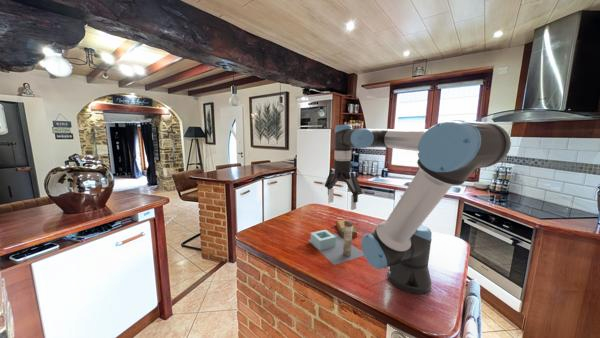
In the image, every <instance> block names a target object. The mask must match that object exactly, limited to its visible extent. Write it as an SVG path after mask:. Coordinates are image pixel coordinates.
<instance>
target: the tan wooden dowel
mask: <svg viewBox="0 0 600 338" xmlns="http://www.w3.org/2000/svg"><path fill="white" fill-rule="evenodd" d="M346 220H347V221H345V222H344V238H343V239H344V245H343V255H344V256H346V257H350V256H351V246H352V245H353V244H352V243H353V241H352V240H353V238H352V227H354V224H353V223H354V221H352V220H349V219H346ZM348 220H349V221H348Z"/></svg>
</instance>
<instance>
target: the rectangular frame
mask: <svg viewBox="0 0 600 338" xmlns="http://www.w3.org/2000/svg"><path fill="white" fill-rule="evenodd" d="M333 234H334V233H331V232H330V231H329V230H327V229H322V230H317V231H313V232H310V239H311V243H312V244H313V245H314V246H315V247H316V248H318V249H319V250H324V249H328V248H331V247H335V246H336V237H335V236H334V235H333ZM311 243H310V244H311ZM312 244H311V245H312ZM313 245H312V246H313ZM314 246H313V247H314ZM315 247H314V248H315ZM316 248H315V249H316ZM319 250H318V251H319Z"/></svg>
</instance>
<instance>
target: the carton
mask: <svg viewBox="0 0 600 338" xmlns="http://www.w3.org/2000/svg"><path fill="white" fill-rule="evenodd" d="M347 220H348V221H350V220H349V219H344V220H343V219H340V220H339V219H337V220H336V222H335V223H336V224H335V225H336V228H337V230H338V232H339V234H340V237H342V238H343V239H344V222H345V221H347ZM357 237H358V232H357V230H356V228H355V227H354V226H353V227H352V239H353V238H357Z"/></svg>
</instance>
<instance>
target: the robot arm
mask: <svg viewBox="0 0 600 338" xmlns="http://www.w3.org/2000/svg"><path fill="white" fill-rule="evenodd" d="M511 141H512V140H511V137H510V135H509V133H508V131H506V129H504V128H503V127H502V126H501V125H498V124H496V123H494V122H489V121H466V120H459V119H458V120H455V119H454V120H448V121H443V122H439V123H436V124H434V125H432V126H431V127H429V128H428V129H405V128H403V129H399V128H397V129H396V128H395V129H390V128H363V127H362V128H361V127H359V128H353V126H352V124H338V125H335V128H334V154H333V155H334V157H333V158H334V161H333V168H330V169H329V174H328V176H327V178H326V181H325V183H324V188H326V190H327V195H328V198H327V199H328V203H329V204H331V203H334V194H335V193H334V191H335V190H334V186H335V185H336V184H337V182H338V181H342V182H344V183H345V184H346V185H347V187H348V188H349V190H350V192H351V195H350V210H351V211H354V210H356V209H357V203H358V202H359V199H358V198H359V195H362V194H363V191H362V188H361V184H360V183H359V180H358V179H359V178H358V177H357V172H356V171H352V172H351V169H352V160H351V159H352V151H353V150H352V148H357V149H366V148H386V149H387V148H388V149H396V150H397V149H398V150H405V151H413V152H415V151H416V152H417V156H418V157H417V158H418V160H417V161H416V164H417V167H418V170H417V172H416V174H415V175H414V177H413V178H412V180H411V182H410V183H409V184H408V186H407V188H406V190H405V191H404V193H403V194H402V196H401V197H400V199H399V200H398V202H397V203H396V205H395V207H394V208H393V210H392V211H391V213H390V214H389V216H388V217H387V219H386V220H385V221H381V222H380V223H378V224H377V225H376V227H375V229H374V230H373V232H371V233H369V232H368V233H366V234H364V235H363V236H362V238H361V244H360V246H361V249H362V250H361V251H362V252H363V254H364V256H363V257H364V258H365V259H366V261H367V263H368V264H369V265H370V266H371V267H372V268H374V269H375V270H376V269H377V270H381V269H387V268H388V270H387V278H388V280H389V282H390V283H391V284H393V286H395V287H396V288H397V289H400V290H401V291H404V292H406V293H409V294H414V295H422V294H423V295H424V294H427V293H429V292H430V291H431V290H432V283H433V282H432V278H431V274H430V270H429V261H430V253H431V243H432V231H431V229H430V228H429V227H428V226H426V225H424V224H423V223H424V222H425V220H427V218H428V217H429V215H430V214H431V213H432V211H434V209H435V208H437V207H436V206H438V204H439V203H440V202H441V201H442V200H443V198H444V197H445V195H446V194H447V193H448V192H449V190H450V189H451V188H452V187H458V186H462V185H463V184H465V183H464V182H466V181H467V179H468V178H469V177H470V175H471V174H473V172H474V171H475V170H476V169H482V168H483V169H484V168H490V167H492V166H494V165H497V164H498V163H500V162H502V161H503V160H504V159H505V158H506V157H507V156H508V154H509V152H510V150H511V146H512V142H511Z"/></svg>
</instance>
